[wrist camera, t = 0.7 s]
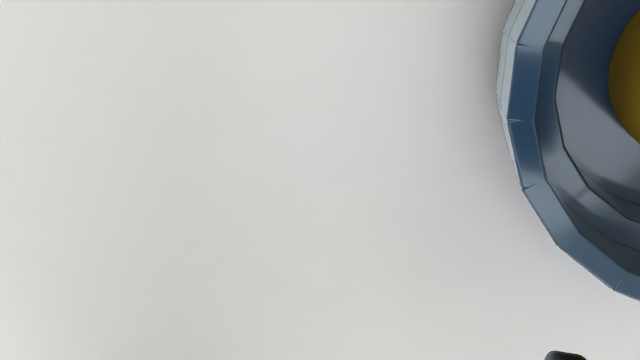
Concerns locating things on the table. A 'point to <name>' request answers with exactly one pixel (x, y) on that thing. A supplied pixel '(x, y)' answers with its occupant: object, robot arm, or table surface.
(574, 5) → the bowl
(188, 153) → the table surface
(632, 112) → the green-capped yellow cylinder
